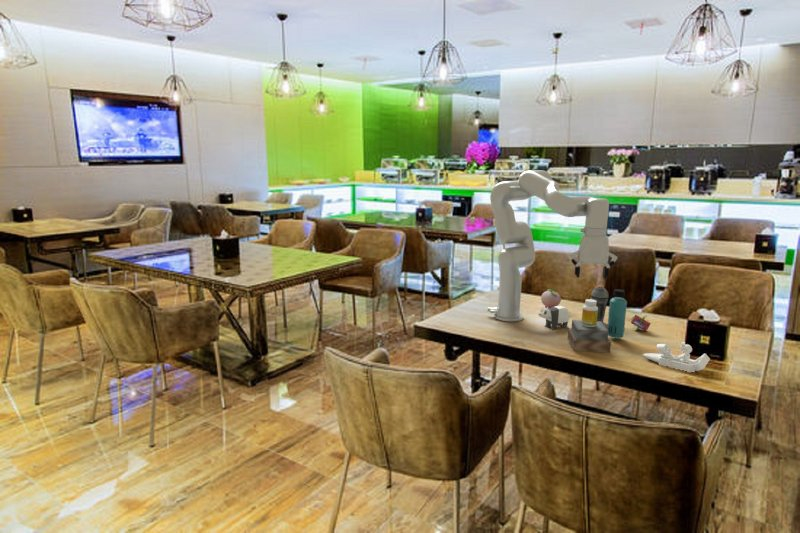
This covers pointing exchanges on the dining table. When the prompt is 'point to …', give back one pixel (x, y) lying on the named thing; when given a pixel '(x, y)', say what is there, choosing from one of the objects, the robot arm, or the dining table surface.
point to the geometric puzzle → (640, 323)
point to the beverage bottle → (617, 315)
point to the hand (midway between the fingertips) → (590, 277)
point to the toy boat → (678, 358)
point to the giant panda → (555, 316)
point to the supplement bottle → (590, 313)
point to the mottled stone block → (589, 337)
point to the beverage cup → (600, 301)
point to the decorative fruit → (550, 298)
